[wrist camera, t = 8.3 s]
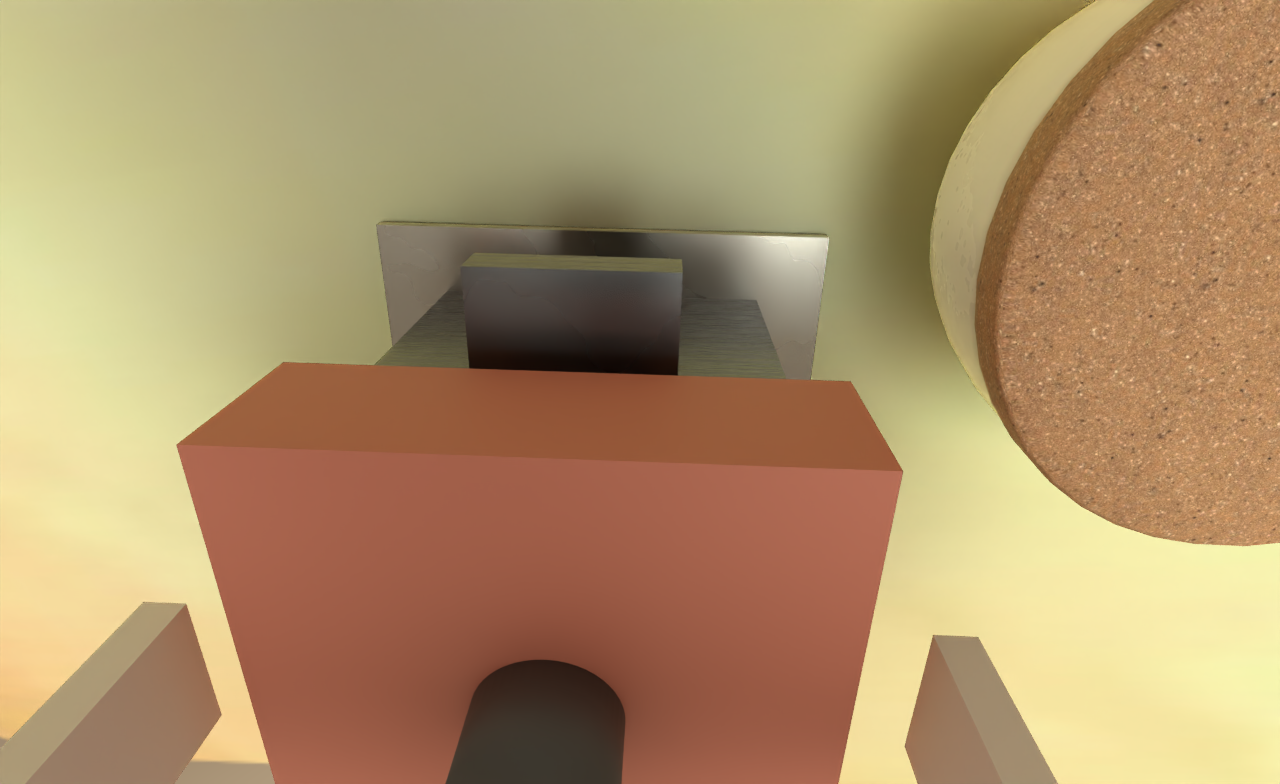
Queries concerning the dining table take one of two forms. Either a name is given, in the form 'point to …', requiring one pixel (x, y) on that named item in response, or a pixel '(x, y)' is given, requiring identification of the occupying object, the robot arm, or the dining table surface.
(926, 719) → the robot arm
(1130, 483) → the lidded jar
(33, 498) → the dining table surface
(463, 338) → the metal cube on plate
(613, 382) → the lid
